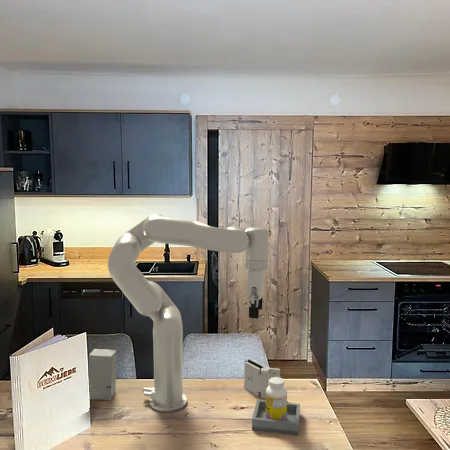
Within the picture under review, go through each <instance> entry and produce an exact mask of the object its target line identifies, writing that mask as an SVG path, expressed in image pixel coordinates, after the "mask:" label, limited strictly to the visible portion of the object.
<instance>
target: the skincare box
mask: <svg viewBox="0 0 450 450" xmlns="http://www.w3.org/2000/svg"><path fill="white" fill-rule="evenodd" d="M116 369H117V350H116V349H106V348H104V349H103V348H101V349H100V348H94V349H93V350H92V351H91V352H90V353H89V355H88V369H87V370H88V373H87V376H88V375H89V392H90V400H96V401H97V400H99V401H103V400H104V401H106V400H107V401H111V400H112V399H113V396H114V395H115V393H116V388H117V387H116V385H117V384H116V383H117V382H116V379H117V377H116V376H117V373H116V372H117V370H116Z"/></svg>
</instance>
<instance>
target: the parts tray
mask: <svg viewBox="0 0 450 450" xmlns="http://www.w3.org/2000/svg"><path fill="white" fill-rule="evenodd" d="M300 413H301V404H300V403H295V402H287V418H286V421H282V420H273V419H266V399H259V398H258V399H256V402H255V406H254V410H253V414H252V418H251V430H252V431H260V432H268V433H276V434H285V435H292V436H293V435H294V436H299V431H300V430H299V429H300V428H299V427H300V415H301V414H300Z"/></svg>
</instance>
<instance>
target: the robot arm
mask: <svg viewBox="0 0 450 450" xmlns="http://www.w3.org/2000/svg"><path fill="white" fill-rule="evenodd" d="M269 235H270V234H269V230H268V229H267V228H266V227H263V226H262V227H261V226H254V227H253V226H252V227H242V226H234V225H232V226H229V227H227V228H224V227H223V228H222V227H221V228H220V227H216V226H210V225H208V224H205V223H202V222H199V221H198V220H197V221H196V220H191V219H182V218H173V217H167V216H164V215H162V214H159V213H154V214H150V215H148V216H147V217H145V219H143V220H142V221H141V222H139V223H137V224H136V225H134V227H132V228H130V229H129V230H128V231H126V232H125V233H123V234H122V235H121V236H119V238H118V239H117V240H116V242H115V244H114V245H113V247H112V249H111V251H110V254H109V256H108V260H107V261H108V262H107V268H108V272H109V275H110V278H111V279H112V280H113V282H114V283H115V284H116V285H117V287H118V288H119V289H120V290H121V292H122V293H123V294H124V296H125V297H126V298H127V299H128V301H129V302H130V304H131V305H132V306H133V308H135V310H136V311H137V312H138V313H139V314H140V315H142V316H145V317H149V318H150V320H152V322H153V323H152V324H153V326H152V340H153V341H152V342H153V385H154V386H153V387H148V386H146V387H145V386H144V387H143V389H142V393H143V396H144V397H150V398H149V406H150V408H152V409H153V410H155V411H158V412H165V413H166V412H167V413H169V412H175V411H178V410H182V409H183V408H184V407H186V405H187V403H188V397H187V395H186V394H185V393H183V339H184V338H183V337H184V336H183V334H184V331H183V329H184V328H183V327H184V326H183V320H182V314H181V312H180V309H179V308H178V307H177V305H176V304H175V303H174V302H173V301H172V300H171V298H170V297H169V295H168V294H167V293H166V292H165V290H164V289H163V288H162V287H161V286H160V285H159V284H158V283H156V282H155V281H153V280H152V281H151V280H148V279H147V278H146V277H145V276H144V274H143V273H142V272H141V270H140V269H139V268H138V267H137V265H136V262H137V260H138V258H139V256H140V254H141V253H142V252H143V251H145V250H146V249H148V248H149V247H151V245H154V244H155V243H158V244H167V245H175V246H176V245H177V246H185V247H192V248H195V249H201V250H202V249H203V250H207V251H213V252H220V253H230V254H240V253H243V252H244V251H245V267H244V268H245V269H246V270H247V277H246V278H247V279H246V295H245V298H246V300H249V304H248V305H249V306H248V318H249V319H256V320H257V319H259V318H260V316H259V314H260V313H259V312H260V311H261V310H263V301H264V300H263V295H264V291H265V290H264V289H265V271H267V270H269Z"/></svg>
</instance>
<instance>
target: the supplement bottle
mask: <svg viewBox="0 0 450 450" xmlns="http://www.w3.org/2000/svg"><path fill="white" fill-rule="evenodd" d="M269 384H270V386H269ZM265 400H266V419H273V420H282V421H286V418H287V403H288V390H287V388H286V387H285V379H284V378H282V377H281V376H280V377H273V378H270V379H269V383H268V387H267V389H266V398H265Z"/></svg>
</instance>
